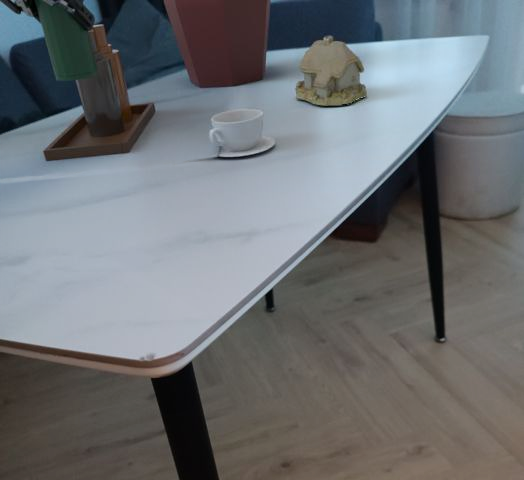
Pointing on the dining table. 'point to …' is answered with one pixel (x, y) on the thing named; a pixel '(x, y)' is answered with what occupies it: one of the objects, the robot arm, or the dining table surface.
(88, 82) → the gray bottle
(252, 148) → the teacup
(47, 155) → the tray
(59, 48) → the green bottle
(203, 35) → the bucket
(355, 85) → the ceramic model
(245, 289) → the dining table surface
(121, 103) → the amber bottle
